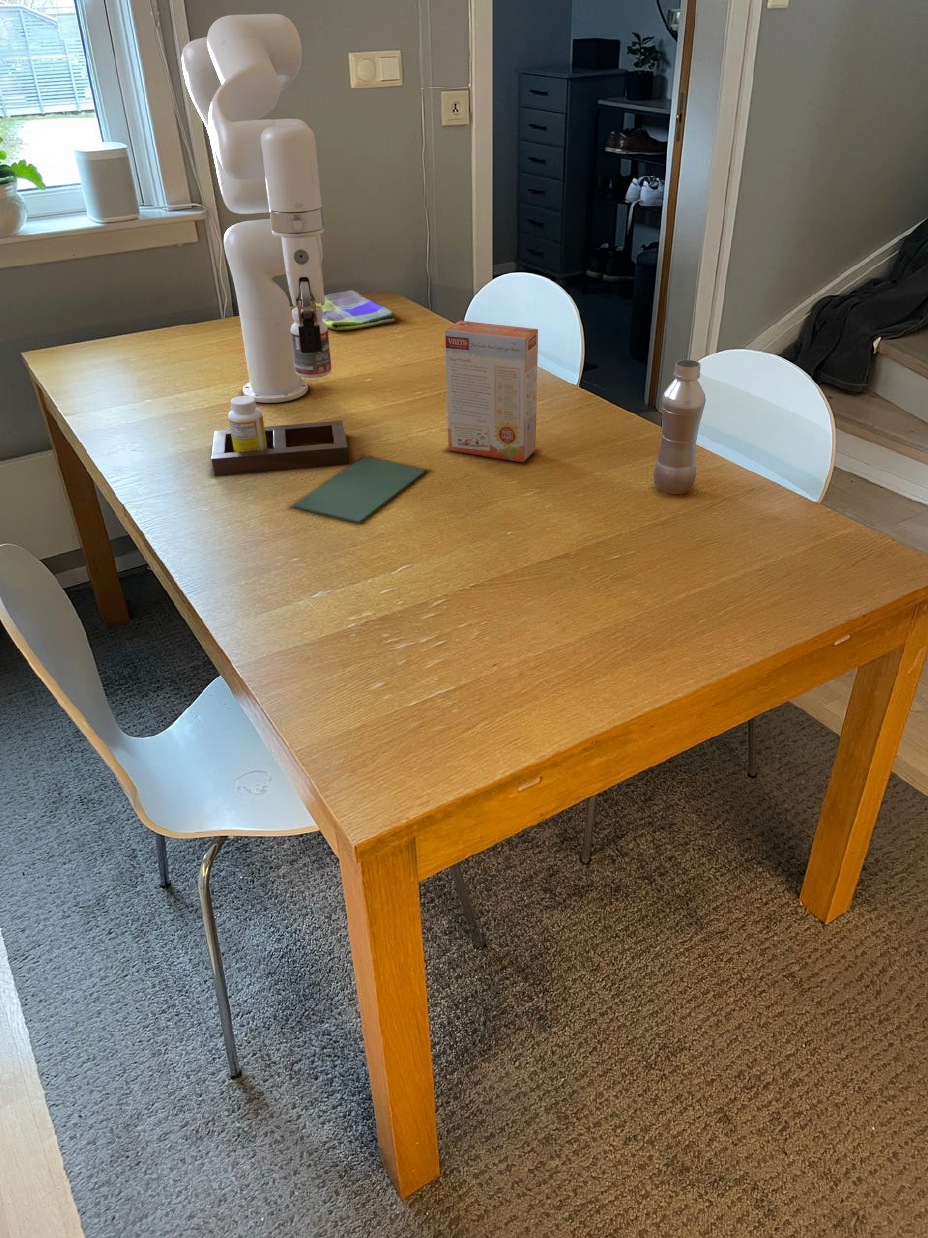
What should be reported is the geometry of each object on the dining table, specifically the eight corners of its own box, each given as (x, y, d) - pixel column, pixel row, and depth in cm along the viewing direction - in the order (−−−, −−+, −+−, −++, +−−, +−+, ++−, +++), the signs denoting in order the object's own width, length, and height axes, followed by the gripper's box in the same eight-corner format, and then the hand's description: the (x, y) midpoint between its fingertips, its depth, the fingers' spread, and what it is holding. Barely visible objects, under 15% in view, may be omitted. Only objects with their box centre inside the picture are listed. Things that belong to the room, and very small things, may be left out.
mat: (364, 458, 156) (364, 456, 156) (426, 471, 151) (426, 469, 151) (293, 507, 142) (293, 505, 141) (359, 523, 137) (359, 521, 137)
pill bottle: (325, 379, 144) (318, 315, 139) (290, 378, 145) (282, 313, 140) (336, 367, 149) (330, 304, 143) (303, 366, 150) (295, 303, 144)
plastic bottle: (696, 483, 146) (713, 358, 135) (690, 501, 141) (708, 373, 130) (655, 477, 148) (669, 354, 137) (648, 496, 143) (661, 369, 132)
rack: (217, 446, 161) (214, 430, 160) (343, 435, 164) (342, 419, 163) (214, 475, 151) (211, 458, 150) (349, 463, 154) (347, 447, 153)
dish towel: (328, 334, 214) (327, 322, 212) (294, 308, 232) (293, 297, 230) (398, 322, 220) (397, 311, 219) (359, 299, 238) (358, 287, 237)
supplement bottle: (254, 448, 160) (245, 391, 155) (275, 456, 157) (267, 398, 152) (228, 458, 157) (218, 400, 151) (249, 467, 154) (240, 408, 148)
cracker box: (536, 450, 158) (540, 327, 146) (523, 464, 153) (526, 338, 141) (461, 438, 163) (459, 317, 151) (447, 451, 158) (443, 327, 146)
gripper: (326, 231, 128) (338, 361, 138) (320, 209, 142) (331, 328, 152) (271, 234, 127) (287, 364, 137) (270, 212, 141) (285, 331, 151)
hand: (310, 344), depth 144 cm, fingers closed on pill bottle, 5 cm apart
